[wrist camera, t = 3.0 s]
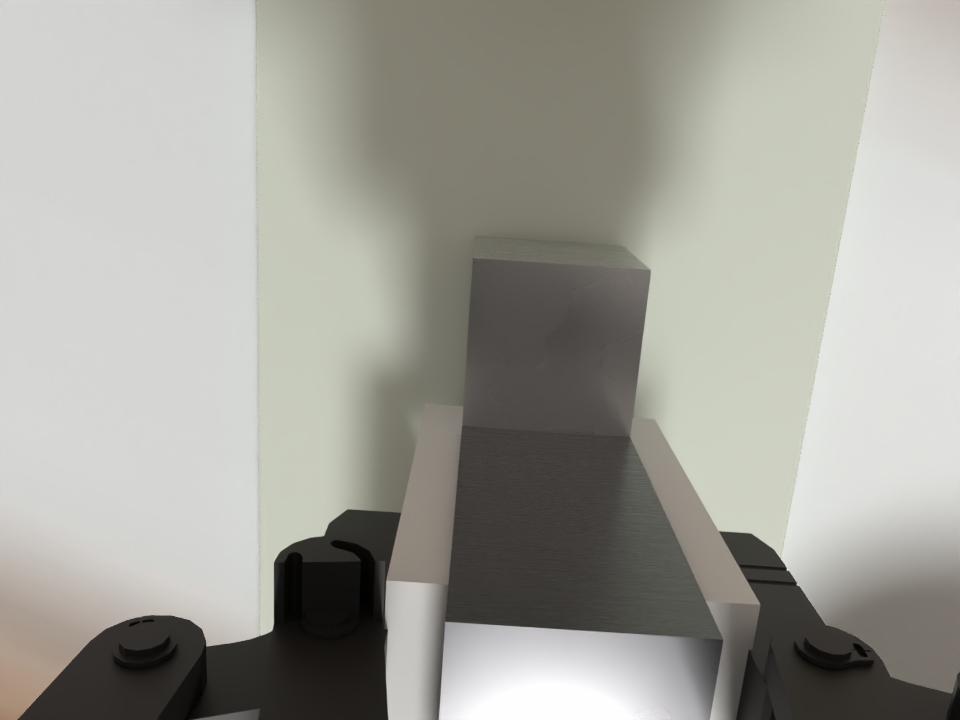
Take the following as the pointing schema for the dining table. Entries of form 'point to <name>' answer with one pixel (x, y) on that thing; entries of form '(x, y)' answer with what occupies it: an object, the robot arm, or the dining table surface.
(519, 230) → the board
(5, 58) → the dining table surface
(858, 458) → the dining table surface
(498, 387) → the slide bar
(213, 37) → the dining table surface
